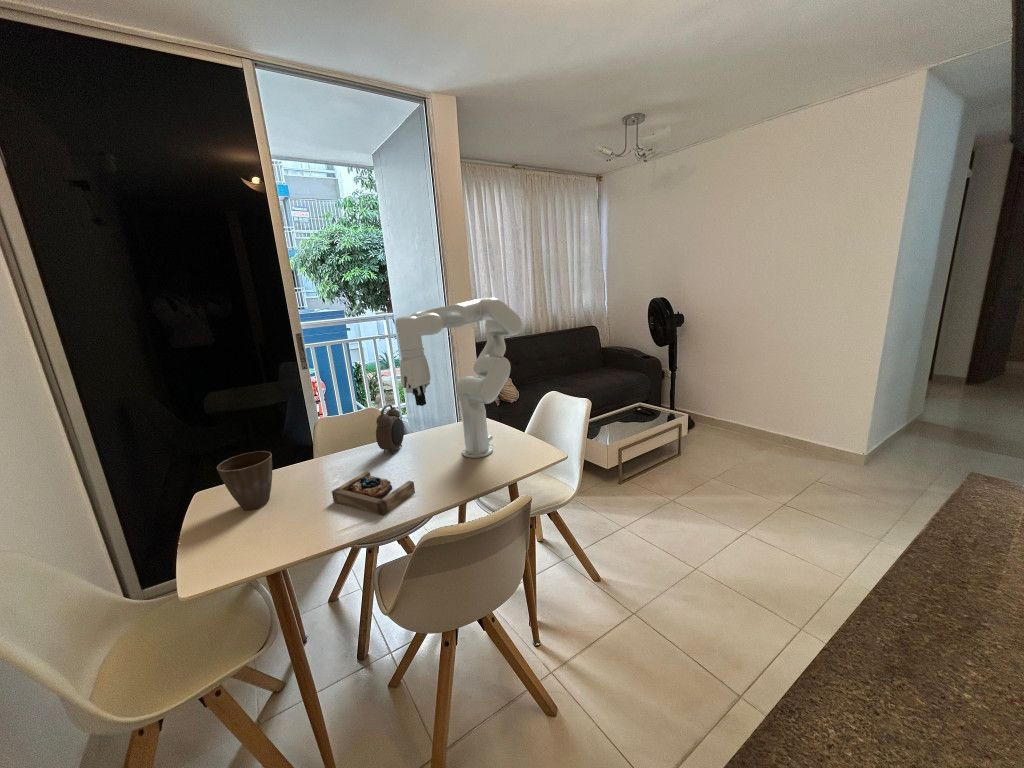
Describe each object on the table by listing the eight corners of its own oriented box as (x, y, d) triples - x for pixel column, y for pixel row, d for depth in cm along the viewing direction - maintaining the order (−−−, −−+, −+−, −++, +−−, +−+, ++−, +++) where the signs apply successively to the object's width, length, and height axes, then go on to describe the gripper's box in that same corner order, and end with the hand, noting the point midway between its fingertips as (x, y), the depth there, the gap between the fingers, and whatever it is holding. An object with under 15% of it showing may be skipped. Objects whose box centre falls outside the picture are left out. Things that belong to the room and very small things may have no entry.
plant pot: (236, 499, 134) (225, 456, 130) (285, 488, 139) (275, 447, 135) (222, 522, 120) (209, 475, 116) (277, 509, 125) (265, 464, 121)
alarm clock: (394, 457, 159) (387, 411, 154) (377, 457, 160) (370, 411, 155) (408, 443, 173) (402, 400, 168) (393, 443, 174) (387, 400, 169)
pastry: (372, 483, 139) (369, 468, 137) (397, 489, 133) (394, 473, 132) (347, 498, 129) (343, 482, 128) (372, 505, 124) (369, 489, 122)
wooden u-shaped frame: (367, 481, 140) (365, 471, 139) (415, 492, 130) (413, 481, 129) (333, 502, 127) (331, 491, 126) (383, 515, 117) (381, 504, 116)
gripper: (419, 348, 139) (427, 397, 144) (388, 358, 126) (398, 411, 131) (435, 348, 135) (443, 398, 140) (405, 358, 122) (414, 413, 128)
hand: (421, 404), depth 136 cm, fingers closed
